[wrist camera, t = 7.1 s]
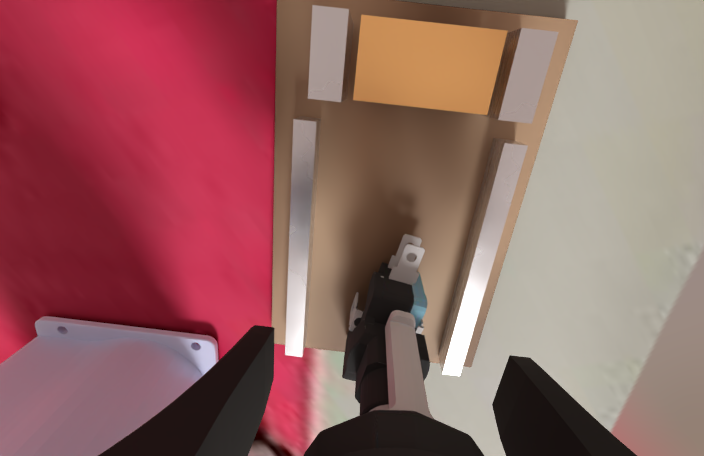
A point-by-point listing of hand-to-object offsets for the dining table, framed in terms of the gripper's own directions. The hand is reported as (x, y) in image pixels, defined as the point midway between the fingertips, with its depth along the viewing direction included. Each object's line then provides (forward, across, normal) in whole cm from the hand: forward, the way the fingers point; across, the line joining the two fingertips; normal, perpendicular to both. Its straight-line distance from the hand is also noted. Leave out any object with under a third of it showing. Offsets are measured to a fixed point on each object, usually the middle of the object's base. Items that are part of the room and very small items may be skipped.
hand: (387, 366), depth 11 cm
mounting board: (+6, 0, -3) cm, 7 cm away
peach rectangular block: (+4, 0, -9) cm, 10 cm away
